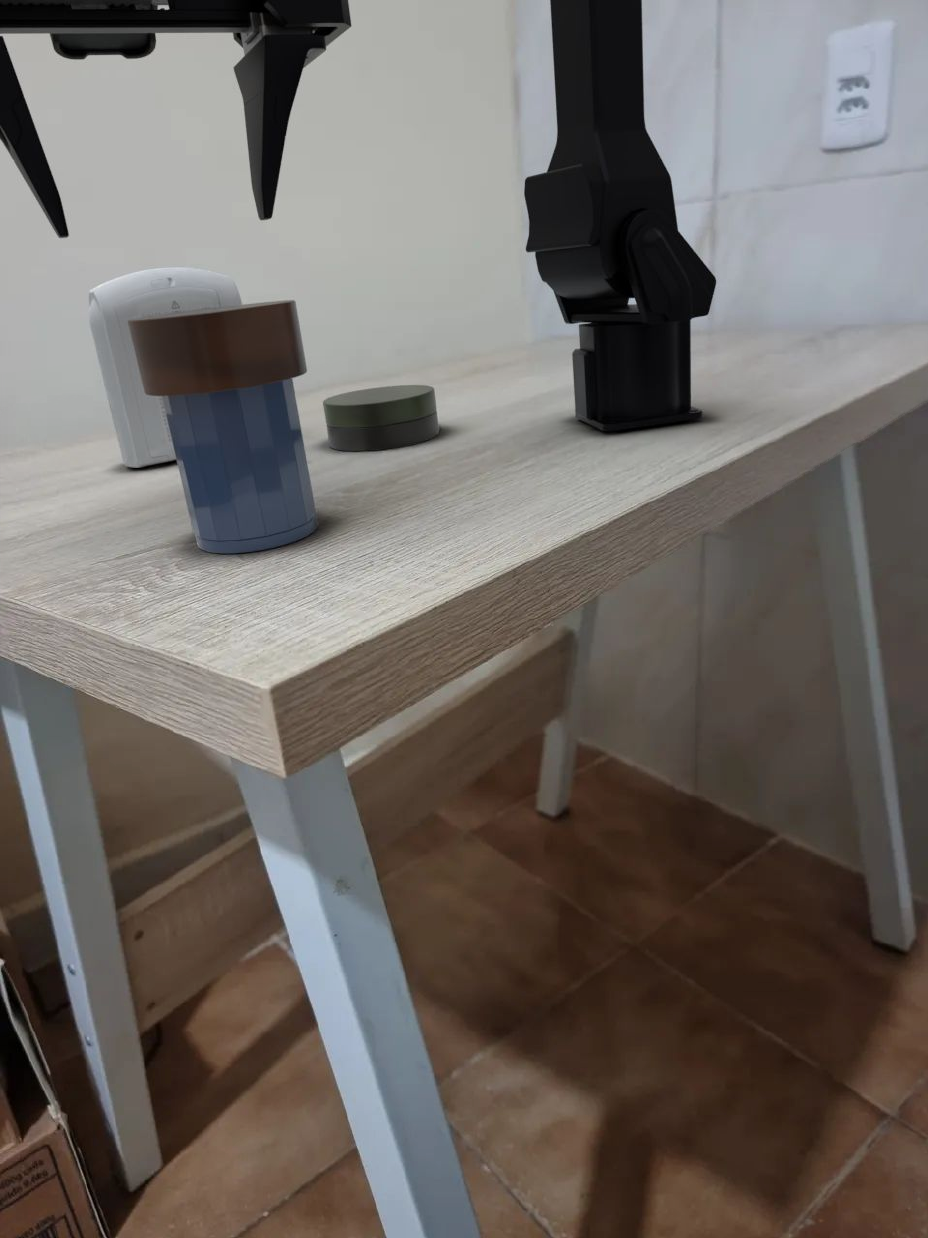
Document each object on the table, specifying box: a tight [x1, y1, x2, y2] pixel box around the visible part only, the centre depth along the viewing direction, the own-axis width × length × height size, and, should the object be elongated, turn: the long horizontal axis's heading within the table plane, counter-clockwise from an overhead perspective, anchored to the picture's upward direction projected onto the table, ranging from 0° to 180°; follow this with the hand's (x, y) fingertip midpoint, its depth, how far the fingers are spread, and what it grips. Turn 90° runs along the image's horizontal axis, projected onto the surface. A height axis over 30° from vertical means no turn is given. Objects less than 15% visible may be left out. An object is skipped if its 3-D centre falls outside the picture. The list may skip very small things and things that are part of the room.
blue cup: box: [162, 378, 319, 554], centre depth 40 cm, size 6×6×7 cm
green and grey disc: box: [322, 384, 440, 452], centre depth 60 cm, size 8×8×3 cm
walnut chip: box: [128, 299, 308, 396], centre depth 38 cm, size 7×7×3 cm
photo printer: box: [88, 266, 243, 469], centre depth 60 cm, size 10×4×12 cm, turn 123°
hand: (169, 227), depth 40 cm, fingers open, 9 cm apart
